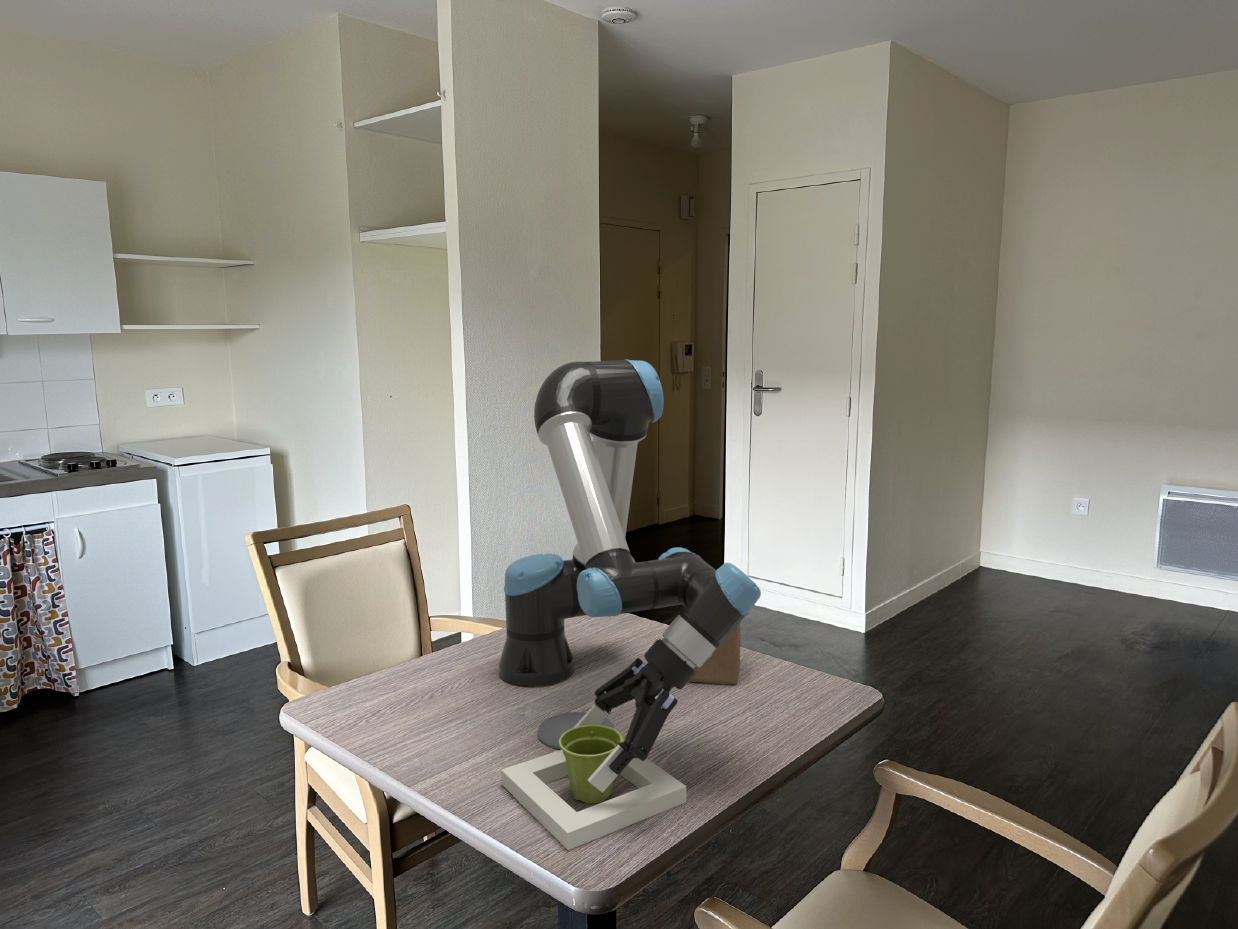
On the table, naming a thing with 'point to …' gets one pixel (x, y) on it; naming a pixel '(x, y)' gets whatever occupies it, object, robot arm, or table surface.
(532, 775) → the well board
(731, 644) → the wooden block
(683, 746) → the table surface
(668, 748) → the table surface
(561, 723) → the mat
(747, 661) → the table surface
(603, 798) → the plant pot
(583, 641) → the table surface
